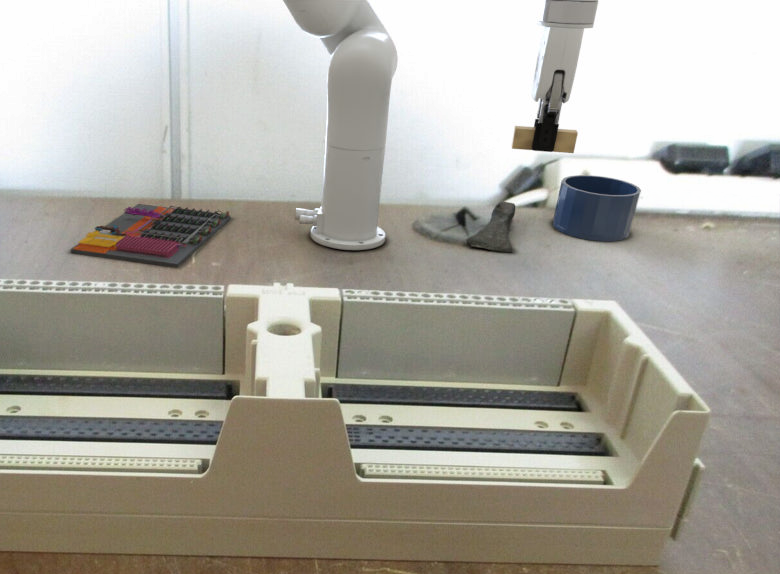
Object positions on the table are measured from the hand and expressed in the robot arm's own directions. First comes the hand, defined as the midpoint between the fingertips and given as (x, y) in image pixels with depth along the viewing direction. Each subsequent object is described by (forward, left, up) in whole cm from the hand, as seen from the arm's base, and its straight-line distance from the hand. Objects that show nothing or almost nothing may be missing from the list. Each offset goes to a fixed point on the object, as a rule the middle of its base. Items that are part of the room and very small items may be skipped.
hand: (542, 147), depth 116 cm
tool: (-2, +11, -18) cm, 21 cm away
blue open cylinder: (+14, +19, -17) cm, 29 cm away
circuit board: (-59, -8, -18) cm, 62 cm away
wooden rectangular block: (0, 0, 0) cm, 0 cm away
